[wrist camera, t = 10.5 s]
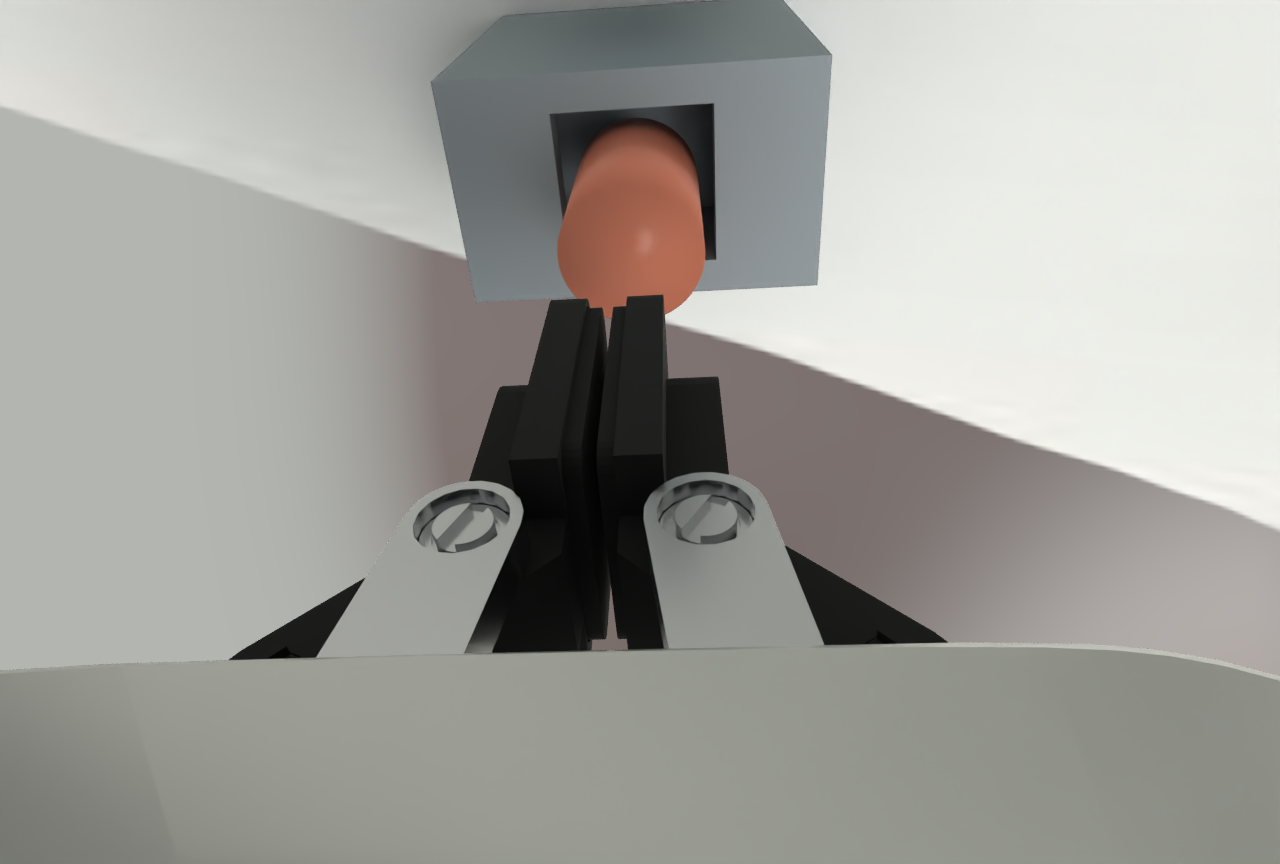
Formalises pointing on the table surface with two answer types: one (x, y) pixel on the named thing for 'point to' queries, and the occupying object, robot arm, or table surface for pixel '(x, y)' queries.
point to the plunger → (633, 218)
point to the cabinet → (640, 88)
